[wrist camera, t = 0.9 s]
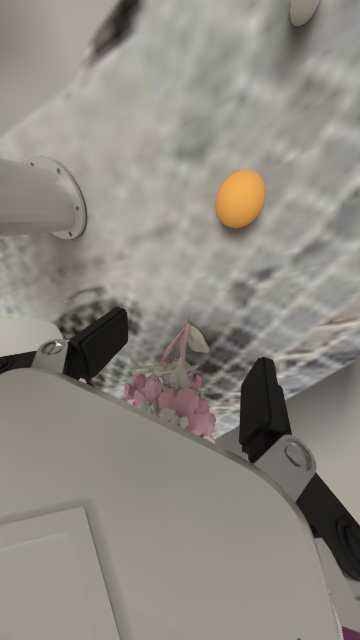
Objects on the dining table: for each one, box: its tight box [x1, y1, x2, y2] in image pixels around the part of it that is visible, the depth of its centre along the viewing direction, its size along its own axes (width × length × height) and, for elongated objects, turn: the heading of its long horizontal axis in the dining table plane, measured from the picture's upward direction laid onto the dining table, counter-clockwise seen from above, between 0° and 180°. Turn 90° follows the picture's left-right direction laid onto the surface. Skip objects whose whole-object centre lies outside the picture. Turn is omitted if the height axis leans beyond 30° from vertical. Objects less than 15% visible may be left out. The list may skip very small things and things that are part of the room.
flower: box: [125, 318, 219, 446], centre depth 34 cm, size 20×22×25 cm
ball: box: [216, 170, 266, 228], centre depth 21 cm, size 6×6×6 cm
